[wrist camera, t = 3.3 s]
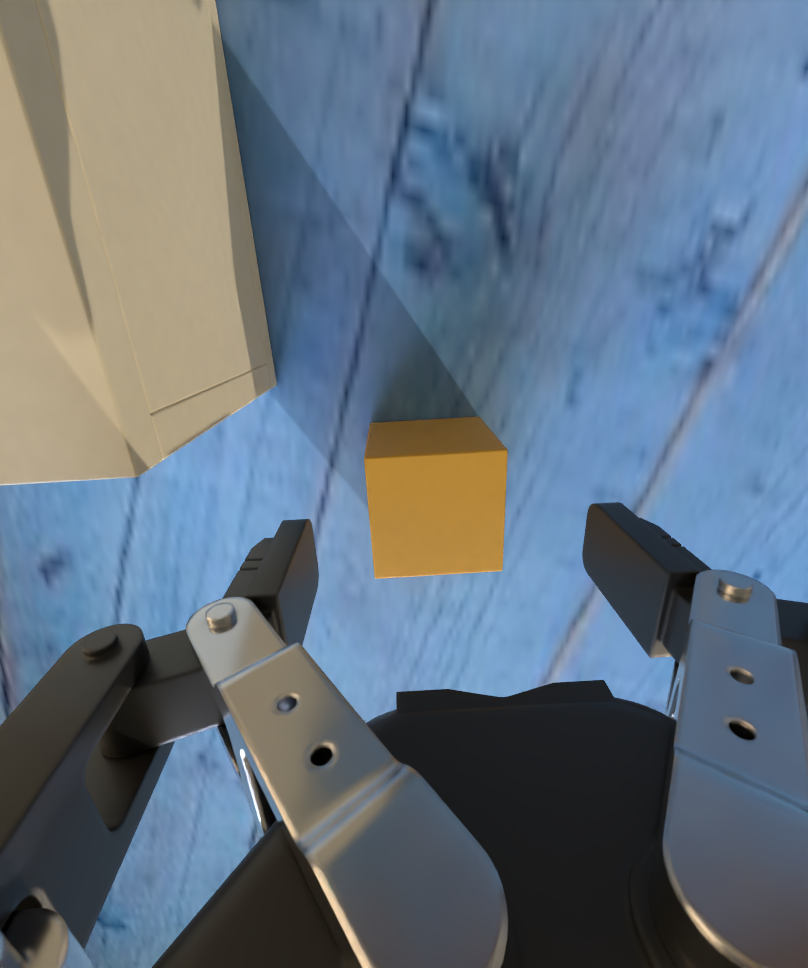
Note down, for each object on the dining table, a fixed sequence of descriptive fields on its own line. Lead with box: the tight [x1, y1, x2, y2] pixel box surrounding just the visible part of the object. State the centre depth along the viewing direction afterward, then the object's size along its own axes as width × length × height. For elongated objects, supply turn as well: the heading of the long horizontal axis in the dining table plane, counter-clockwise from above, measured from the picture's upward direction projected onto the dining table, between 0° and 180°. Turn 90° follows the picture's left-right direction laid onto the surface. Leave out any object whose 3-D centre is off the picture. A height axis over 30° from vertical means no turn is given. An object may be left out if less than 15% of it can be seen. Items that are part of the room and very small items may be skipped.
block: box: [364, 417, 508, 579], centre depth 16 cm, size 4×4×4 cm
